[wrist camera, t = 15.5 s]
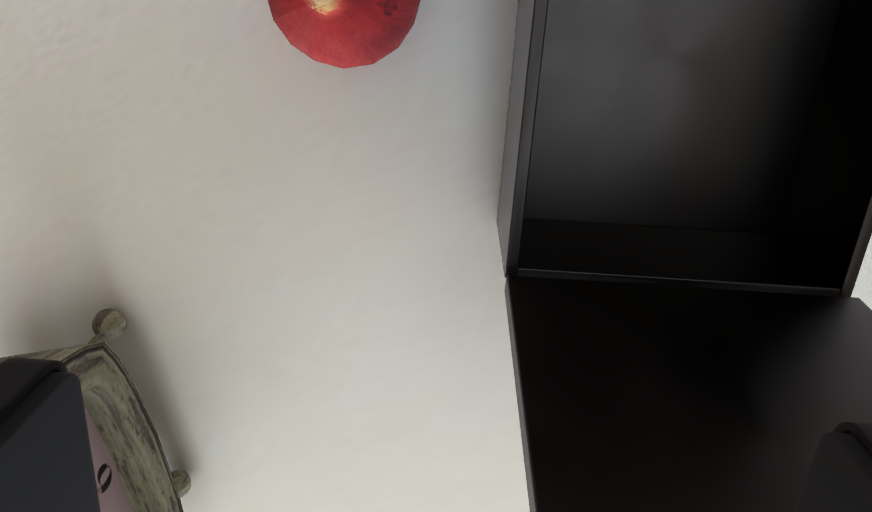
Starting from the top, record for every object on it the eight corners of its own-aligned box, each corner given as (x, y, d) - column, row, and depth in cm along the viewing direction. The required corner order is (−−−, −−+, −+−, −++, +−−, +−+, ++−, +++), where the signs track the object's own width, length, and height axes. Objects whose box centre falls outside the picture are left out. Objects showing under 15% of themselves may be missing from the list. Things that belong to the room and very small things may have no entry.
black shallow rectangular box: (536, -181, 27) (557, -221, 21) (891, -160, 27) (1013, -193, 21) (496, 222, 34) (504, 278, 28) (780, 240, 34) (850, 300, 28)
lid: (569, 776, 11) (530, 931, 14) (1419, 834, 11) (1227, 980, 14) (506, 274, 27) (493, 388, 30) (859, 297, 27) (816, 409, 30)
